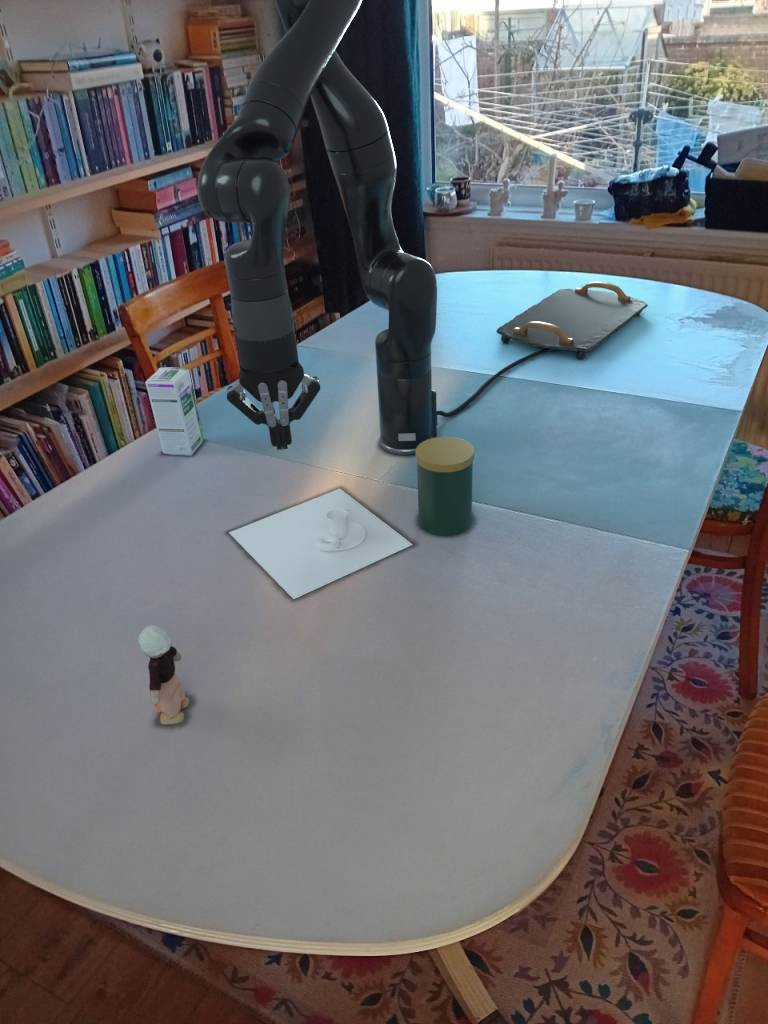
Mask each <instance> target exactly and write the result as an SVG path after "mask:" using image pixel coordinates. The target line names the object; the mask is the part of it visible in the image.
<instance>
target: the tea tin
mask: <svg viewBox="0 0 768 1024" xmlns="http://www.w3.org/2000/svg"><path fill="white" fill-rule="evenodd" d="M415 461H416V466H417V468H416V469H417V470H416V471H417V502H418V503H417V504H418V506H417V507H418V509H417V510H418V523H419V526H420V528H421V529H422V530H424V531H425V532H426V533H429V534H431V535H435V536H442V537H448V536H455V535H458V534H461V533H464V532H465V531H467V530H468V529H469V528H470V527H471V525H472V521H473V469H474V467H473V465H474V463H473V462H474V461H475V448H474V446H473V444H471V443H470V441H469V442H468V441H467V440H465V439H463V438H459V437H454V436H437V437H436V438H431V439H428V440H426V441H423V442H422V443H420V444H419V445H418V446H417V448H416V454H415Z"/></svg>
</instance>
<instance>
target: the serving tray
mask: <svg viewBox="0 0 768 1024" xmlns="http://www.w3.org/2000/svg"><path fill="white" fill-rule="evenodd" d="M590 288H597V289H604V290H609V291H603V290H592V289H590ZM610 291H612V292H610ZM648 305H649V304H648V303H647V302H645V301H643V300H640V299H637V298H634V297H631V296H630V295H626V293H625V292H624V291H623V289H622V288H621V287H620V286H618V285H616V284H613V283H610V282H603V281H590V282H588V283H586V284H584V286H582V287H575V288H561V289H558V290H557V291H555V292H553V293H552V294H550V295H548V296H547V297H545V298H543V299H542V300H540V301H539V302H538V303H536V304H533V305H532V306H530V307H528V308H527V309H526V310H524V311H523V312H521V313H519V314H517V315H515V317H513V318H512V319H510V320H509V321H507V322H505V323H504V324H502V325H501V326H499V327H498V328H497V329H496V334H497V335H500V341H501V342H502V344H503V345H507V344H509V343H510V342H511V341H515V342H518V343H521V344H525V345H528V346H533V347H538V348H542V349H545V348H549V349H553V350H556V351H557V350H558V351H568V352H569V351H570V352H575V357H576V359H577V360H579V361H582V360H584V359H585V358H586V356H587V352H590V351H593V350H594V349H595V348H596V347H598V346H599V345H601V344H602V343H604V341H605V340H607V339H608V338H609V337H611V336H612V335H613V334H614V333H616V332H618V330H620V329H621V328H622V327H623V326H625V325H626V324H627V323H629V322H630V321H631V320H632V319H634V318H635V317H636V316H640V314H642V311H643V310H645V309H646V308H647V307H648Z"/></svg>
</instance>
